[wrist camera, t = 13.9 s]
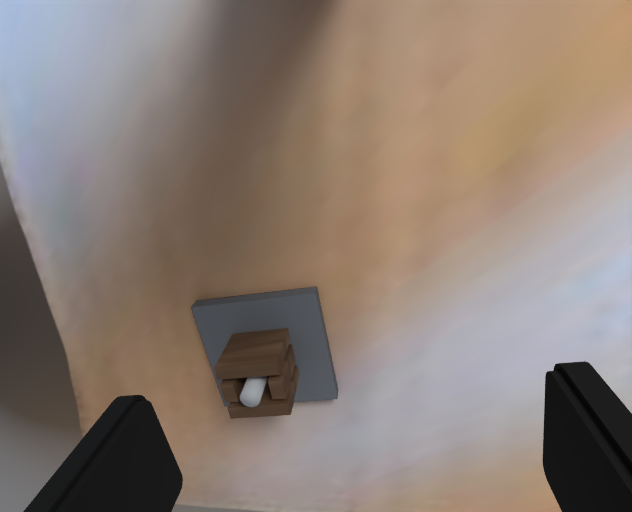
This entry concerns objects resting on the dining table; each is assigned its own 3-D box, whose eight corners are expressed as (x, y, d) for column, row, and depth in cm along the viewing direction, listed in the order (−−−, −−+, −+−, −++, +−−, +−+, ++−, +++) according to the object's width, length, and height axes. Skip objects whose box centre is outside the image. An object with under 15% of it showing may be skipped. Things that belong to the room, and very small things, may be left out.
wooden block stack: (232, 333, 44) (213, 368, 38) (287, 327, 43) (276, 362, 37) (246, 379, 46) (231, 418, 41) (299, 375, 45) (290, 414, 40)
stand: (196, 300, 44) (160, 345, 37) (316, 286, 42) (306, 330, 34) (228, 397, 50) (203, 454, 42) (338, 389, 47) (333, 449, 39)
